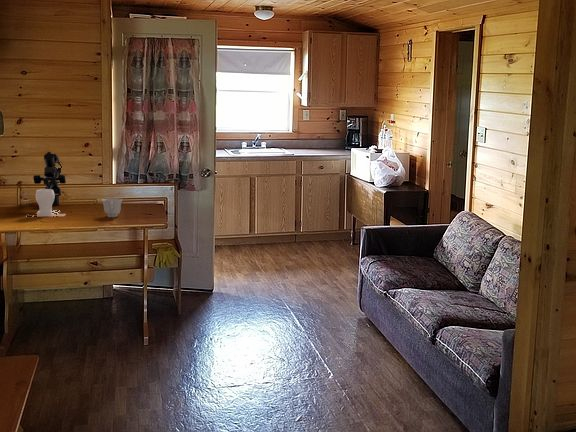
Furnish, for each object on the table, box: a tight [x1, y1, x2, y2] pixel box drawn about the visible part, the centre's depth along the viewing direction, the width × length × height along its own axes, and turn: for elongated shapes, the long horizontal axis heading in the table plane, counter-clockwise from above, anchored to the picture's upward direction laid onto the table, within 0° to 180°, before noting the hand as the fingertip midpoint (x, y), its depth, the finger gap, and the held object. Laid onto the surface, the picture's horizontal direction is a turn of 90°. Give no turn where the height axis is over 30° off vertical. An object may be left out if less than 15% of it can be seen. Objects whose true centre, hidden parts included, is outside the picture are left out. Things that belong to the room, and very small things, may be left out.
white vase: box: [35, 188, 55, 216], centre depth 419 cm, size 11×11×15 cm
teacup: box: [101, 197, 123, 218], centre depth 419 cm, size 12×15×10 cm
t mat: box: [25, 209, 67, 218], centre depth 427 cm, size 21×22×1 cm
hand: (48, 190), depth 435 cm, fingers closed
